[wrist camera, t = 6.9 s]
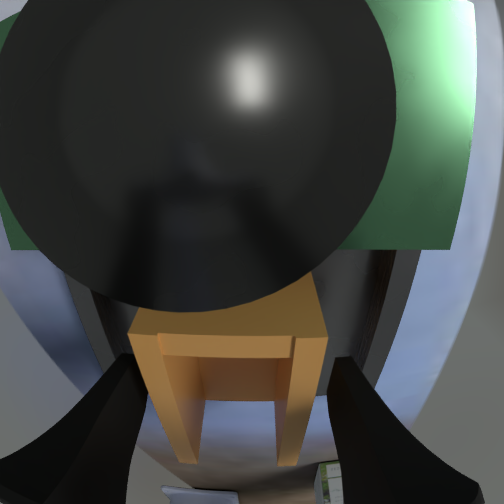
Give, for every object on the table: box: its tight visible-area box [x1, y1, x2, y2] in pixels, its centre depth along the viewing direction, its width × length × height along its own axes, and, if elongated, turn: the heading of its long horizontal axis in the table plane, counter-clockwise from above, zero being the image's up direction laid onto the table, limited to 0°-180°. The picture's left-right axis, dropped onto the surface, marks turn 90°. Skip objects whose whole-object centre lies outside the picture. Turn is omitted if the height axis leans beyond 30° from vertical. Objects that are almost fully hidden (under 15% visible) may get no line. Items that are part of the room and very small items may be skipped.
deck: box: [0, 0, 476, 396], centre depth 9 cm, size 18×15×7 cm
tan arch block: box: [128, 271, 328, 466], centre depth 11 cm, size 8×5×4 cm, turn 0°
